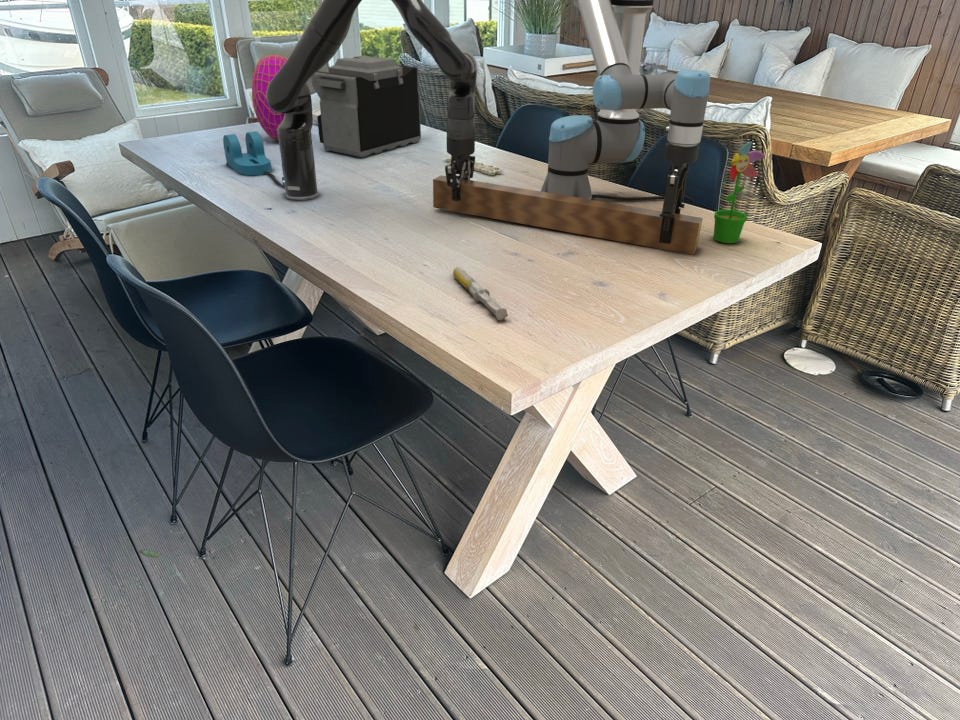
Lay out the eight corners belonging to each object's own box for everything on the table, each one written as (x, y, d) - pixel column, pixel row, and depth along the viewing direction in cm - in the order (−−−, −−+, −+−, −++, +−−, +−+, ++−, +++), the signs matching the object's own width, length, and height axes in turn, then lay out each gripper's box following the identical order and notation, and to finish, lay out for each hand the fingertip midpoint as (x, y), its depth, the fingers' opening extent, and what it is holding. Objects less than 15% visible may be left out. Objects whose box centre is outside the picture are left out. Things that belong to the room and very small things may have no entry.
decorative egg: (293, 132, 276) (283, 50, 261) (319, 140, 264) (310, 56, 249) (249, 139, 265) (236, 54, 250) (273, 148, 253) (261, 60, 238)
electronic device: (383, 133, 276) (378, 52, 261) (425, 141, 265) (422, 56, 250) (314, 150, 251) (304, 61, 235) (358, 160, 240) (350, 67, 224)
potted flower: (724, 247, 171) (744, 145, 158) (701, 237, 177) (720, 137, 164) (751, 241, 175) (774, 141, 162) (728, 231, 181) (748, 134, 168)
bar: (696, 248, 171) (702, 217, 167) (693, 254, 167) (699, 223, 163) (440, 203, 196) (440, 175, 192) (433, 207, 192) (432, 179, 188)
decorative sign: (435, 158, 239) (457, 153, 245) (435, 161, 240) (457, 156, 245) (485, 174, 222) (507, 169, 228) (485, 177, 223) (507, 172, 228)
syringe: (449, 274, 155) (449, 263, 153) (465, 272, 156) (464, 260, 154) (490, 323, 135) (491, 310, 133) (508, 319, 136) (508, 307, 134)
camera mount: (227, 164, 233) (221, 132, 227) (257, 160, 238) (252, 129, 233) (244, 176, 220) (239, 143, 215) (276, 172, 225) (271, 139, 220)
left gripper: (460, 127, 188) (459, 189, 197) (435, 138, 177) (436, 203, 186) (485, 131, 185) (483, 193, 194) (461, 142, 174) (460, 207, 183)
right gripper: (675, 132, 167) (661, 223, 179) (657, 150, 152) (643, 248, 164) (706, 136, 165) (690, 228, 176) (691, 154, 149) (675, 253, 161)
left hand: (460, 197), depth 190 cm, fingers closed on bar, 4 cm apart
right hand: (667, 237), depth 170 cm, fingers open, 7 cm apart
